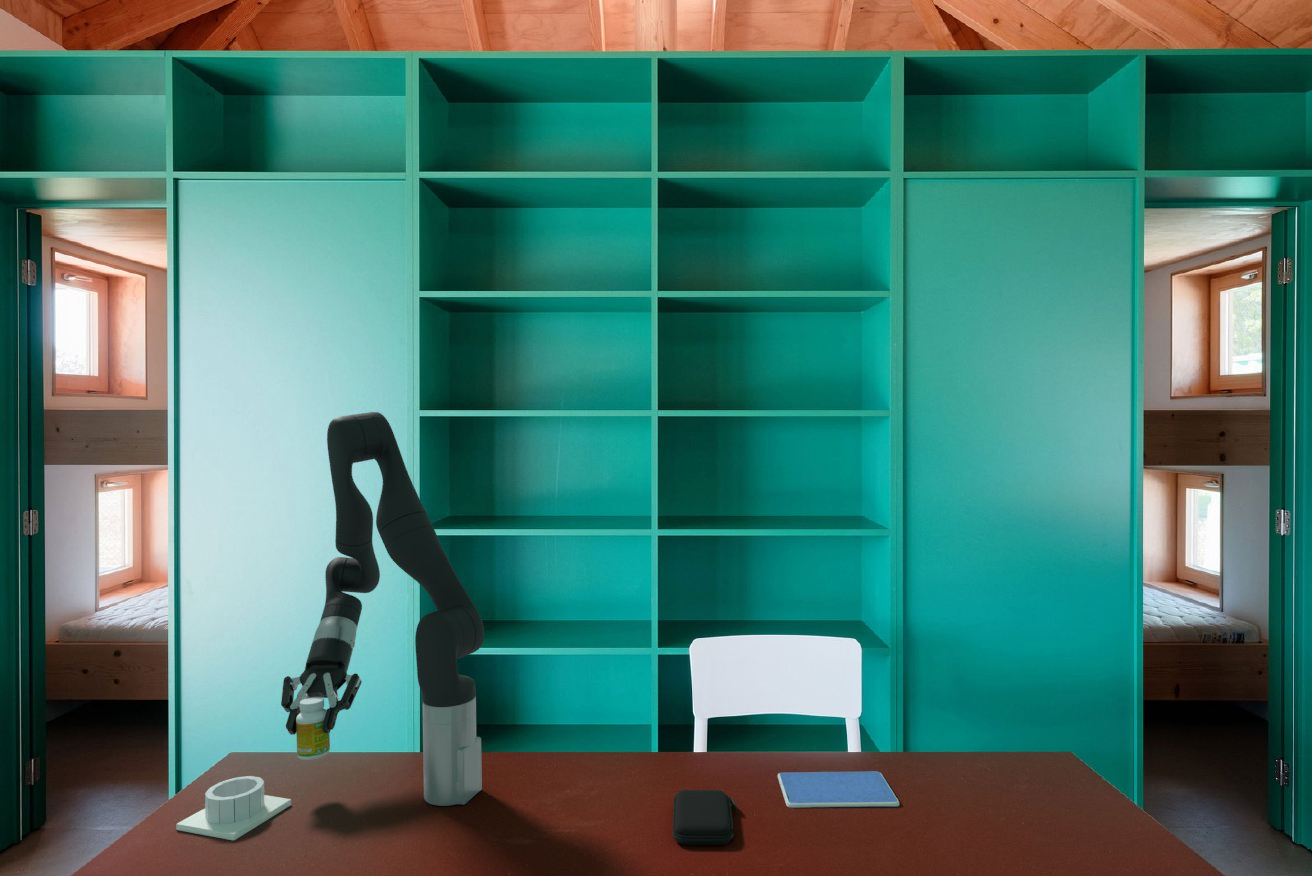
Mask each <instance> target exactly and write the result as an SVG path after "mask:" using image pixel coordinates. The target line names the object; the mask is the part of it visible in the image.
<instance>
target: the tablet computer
mask: <svg viewBox="0 0 1312 876" xmlns="http://www.w3.org/2000/svg"><path fill="white" fill-rule="evenodd" d="M777 779H778V783H779V786H780V789H781V792H782V796H783V799H784V802H785V805H786V807H788V808H791V809H796V808H797V809H798V808H799V809H801V808H804V809H805V808H850V807H851V808H855V807H857V808H858V807H859V808H861V807H868V808H869V807H873V808H874V807H900V801H899V799H898V797H896V795H895V793H894V791H893V789H892V787H890V785H889V783H888V782H887V780H886V779H885V777H884V776H883V774H882V773H881V772H880V771H877V770H876V771H875V770H871V771H870V770H868V771H867V770H866V771H812V772H811V771H810V772H809V771H808V772H806V771H804V772H802V771H801V772H799V771H796V772H793V771H792V772H791V771H790V772H785V771H784V772H779V773H777Z"/></svg>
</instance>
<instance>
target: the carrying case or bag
mask: <svg viewBox="0 0 1312 876" xmlns="http://www.w3.org/2000/svg"><path fill="white" fill-rule="evenodd" d="M732 808H733V810H734V811H737V810H738V806H737V803H736V802H735V800H734V799H733V798H732V797H730V796H728V795H727V794H726V792H725V791H723V790H720V789H681V790H679V791H678V792H677V793H676V795H674V797H673V809H672V811H673V813H672V814H673V815H672V837H673V838H674V840H675V842H677V843H678V844H679V845H682V846H683V845H684V846H691V845H692V846H724V845H727V844H729V843H730V841H732V839H733V838H734V837H735V829H734V823H733V813H732Z"/></svg>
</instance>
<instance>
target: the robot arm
mask: <svg viewBox="0 0 1312 876" xmlns="http://www.w3.org/2000/svg"><path fill="white" fill-rule="evenodd" d="M387 419H388V418H386V417H385V415H384V414H382V413H380V412H377V411H371V412H370V411H369V412H361V413H355V414H348V415H341V416H338V417H334V418H333V419H332V420H331V421H330V422H329V424H328V427H327V433H326V434H327V435H326V443H327V453H328V455H327V456H328V463H329V469H330V476H331V482H332V489H333V495H334V496H333V497H334V503H335V549H336V550H337V552H338V553H340V554H341V555H343V556H344V557H343V556H338V557H334V558H333V559H331V561H329V562H328V564H327V566H326V568H325V600H324V601H325V603H324V607H323V610H322V613H321V618H320V621H319V624H318V626H317V628H316V630H315V632H314V635H313V639H312V643H311V646H310V648H309V652H308V655H307V659H306V663H305V667H304V670H303V672H302V673H301V674H300V676H297V677H291V676H289V675H287V676H285V677H284V678H283V683H282V690H281V691H282V692H281V701H280V706H281V707H282V708H283V710H284V711H285V712H286V713H288V718H287V720H286V724H285V729H286V730H287V732H288V733H289V735H294V736H295V735H296V717H297V715H298V714H299V713H301V711H300V701H301V700H303V699H306V698H310V697H323V698H324V699H327V700H328V704H329V708H326V710H327V712H326V715H325V719H324V723H323V727H322V729H323V731H324V732H325V733H329V734H330V733H331V731H332V730H334V729H335V726H336V723H337V718H338V715H339V713H340V712H341V711H343V710H345V711H347V710H350V709H351V708H352V705H353V703H354V700H355V699H356V696H357V694H358V692H359V689H360V686H361V684H362V682H363V681H362V679H361V677H360V675H359V673H353V674H352V675H351V674H348V673H347V672H348V670H349V666H350V662H351V658H352V654H353V651H354V648H355V644H356V640H357V639H356V637H357V631H358V630H357V629H358V626H359V622H360V618H361V615H362V609H363V603H362V601H361V600H360V599H359V598H358V597H356V596H355V595H352V594H349V593H357V594H358V593H359V594H368V593H369V594H370V593H371V592H373V591H374V590H375V589H376V588H377V587H378V585H379V583H380V578H381V576H380V575H381V574H380V573H381V572H380V567H379V563H378V560H377V557H376V554H375V550H374V545H373V536H374V535H373V532H374V530H373V529H374V515H373V510H372V508H371V506H370V503H369V502H368V500H367V499H366V497H365V496H364V495H363V494H362V492H361V490H360V489H359V488H358V485H356V483H355V481H354V479H353V478H354V477H353V464H355V463H361V462H366V461H373V460H374V461H376V463H377V465H378V467H379V470H380V473H381V474H380V475H381V478H382V486H381V493H380V497H379V501H378V506H377V511H376V520H375V525H376V529H377V532H378V534H379V537H380V539H381V541H382V543H383V545H384V548H385V550H386V552H387V554H388V556H389V558H390V559H391V560H392V561H393V562H394V563H395V564H396V566H398V567H399V569H401V570H402V571H403V572H404V573H405V574H407V575H408V576H409V577H411V579H413V580H414V581H416V582H417V583H418V584H419V585H420V586H421V587H422V588H423V589H424V590H425V592H426V593H427V594H428V596H429V597H430V599H431V600H432V602H433V604H434V606H435V609H436V611H435V610H434V611H432V612H428V613H427V614H424V615H423V616H422V617H421V618H420V619H419V621H418V624H417V626H416V631H415V635H414V636H415V638H414V640H415V642H414V643H415V645H414V646H415V647H414V648H415V658H416V659H415V661H416V673H417V675H416V676H417V683H418V687H419V688H420V689H419V690H420V691H421V695H422V696H421V698H422V699H421V700H422V752H423V753H422V758H423V761H422V762H423V765H422V766H423V770H422V771H423V798H424V801H425V802H426V803H428V804H430V805H433V806H439V807H440V806H441V807H446V806H447V807H449V806H454V805H465V804H467V803H468V802H469V801H470V800H471V799H473V798H474V796H476V795H477V794H478V793H479V792H481V790H482V789H483V784H482V783H483V782H482V781H483V777H482V775H483V774H482V772H483V771H482V738H481V736H477V699H476V698H477V697H476V695H477V691H476V682H475V680H474V679H473V678H472V677H470V676H468V675H462V674H459V670H458V669H459V668H458V661H457V660H458V659H461V658H463V657H466V656H469V655H472V654H473V653H475V652H477V651H478V650H479V649H480V648H481V647H482V645H483V643H484V640H485V627H484V623H483V620H482V617H481V615H480V613H479V611H478V609H477V606H475V604H474V603H473V600H472V599H471V597H470V596H469V594H468V593H467V591H466V589H465V588H464V586H463V584H462V583H461V582H462V581H460V579H459V578H458V575H457V573H456V572H455V570H454V568H453V566H452V564H451V562H450V560H449V558H448V556H447V554H446V552H445V550H444V547H443V545H441V544H442V543H441V542H440V539H439V538H438V535H437V532H436V530H435V527H434V526H433V524H432V522H431V520H430V517H429V514H428V513H427V511H426V509H425V507H424V505H423V503H422V501H421V499H420V497H419V495H418V493H417V491H416V488H415V485H414V483H413V481H412V479H411V477H410V474H409V472H408V470H407V469H408V468H407V467H406V464H405V461H404V459H403V456H402V453H401V451H400V448H399V446H398V442H397V439H396V436H395V433H394V431H393V429H392V426H391V424H390V423H389V421H388V420H387ZM346 592H347V593H346ZM345 684H346V688H345V690H344V692H343V694H342V696H341V698H340V699H339V694H338V691H339V690H340V689H341V687H343V685H345ZM299 685H301V688H300V689H299V690H298V691H297V689H298V686H299ZM295 691H297V693H296V697H295V696H294V695H295ZM294 697H295V699H294Z"/></svg>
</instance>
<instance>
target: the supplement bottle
mask: <svg viewBox="0 0 1312 876" xmlns="http://www.w3.org/2000/svg"><path fill="white" fill-rule="evenodd" d="M300 711H301V713H299V714H298V715H297V717H296V734H295V735H296V756H297V758H298V759H300V760H303V761H305V760H306V761H307V760H308V761H309V760H316V759H319V758H322V757H324V756H326V755H327V754H329V752H330V749H331V745H330V744H331V741H330V740H331V739H330V733H325V732H324V731H323V729H322V727H323V723H324V719H325V715H326V712H327V708H326V709H325V698H323V697H310V698H306V699H303V700H301V701H300Z"/></svg>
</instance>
